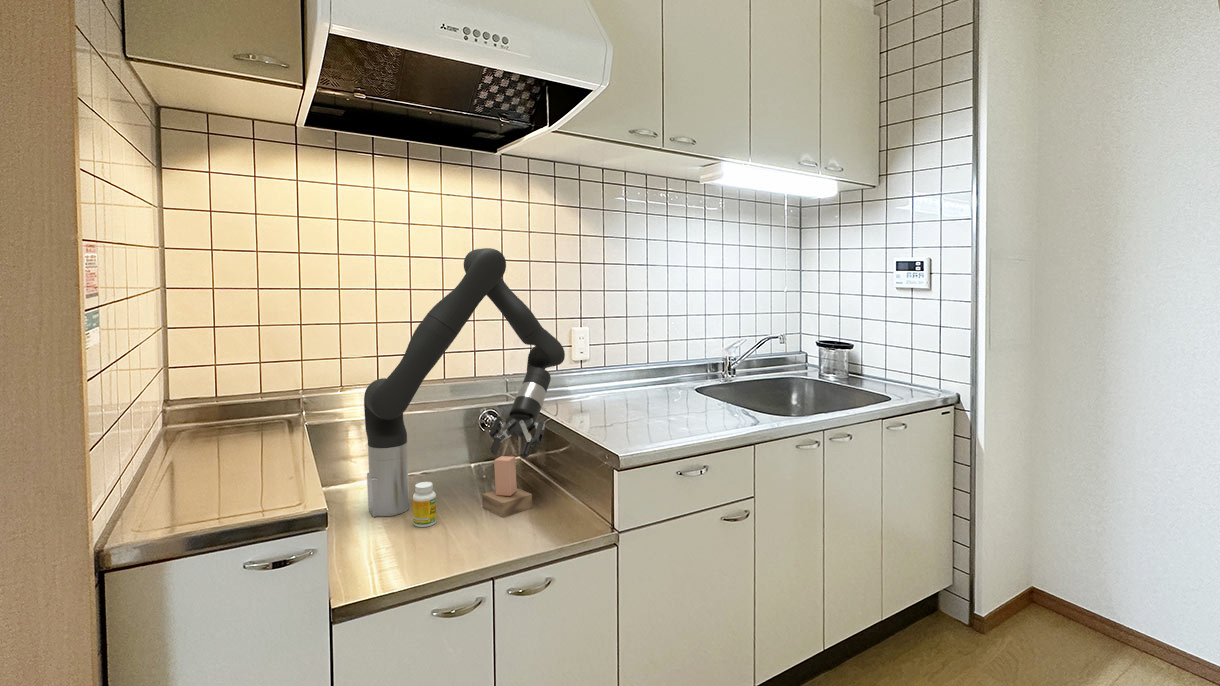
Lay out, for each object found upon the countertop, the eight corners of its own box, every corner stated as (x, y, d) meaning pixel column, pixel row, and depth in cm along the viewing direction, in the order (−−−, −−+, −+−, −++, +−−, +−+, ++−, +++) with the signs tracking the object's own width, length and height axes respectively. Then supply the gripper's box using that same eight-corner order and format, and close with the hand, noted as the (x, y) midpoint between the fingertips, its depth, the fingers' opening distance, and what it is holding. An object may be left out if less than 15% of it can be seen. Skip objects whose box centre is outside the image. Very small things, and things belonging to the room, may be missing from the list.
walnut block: (502, 519, 145) (502, 503, 145) (482, 508, 152) (482, 493, 151) (532, 509, 152) (532, 494, 151) (511, 499, 158) (511, 485, 158)
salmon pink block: (510, 495, 149) (508, 460, 149) (495, 495, 150) (494, 460, 150) (516, 490, 153) (515, 456, 152) (502, 490, 154) (500, 456, 153)
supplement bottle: (417, 518, 144) (415, 480, 143) (439, 518, 145) (438, 480, 144) (410, 527, 139) (409, 488, 138) (433, 527, 139) (432, 488, 138)
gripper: (500, 393, 160) (478, 445, 151) (548, 396, 156) (528, 451, 146) (510, 408, 166) (489, 459, 156) (556, 412, 161) (538, 465, 152)
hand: (508, 455), depth 151 cm, fingers open, 8 cm apart
